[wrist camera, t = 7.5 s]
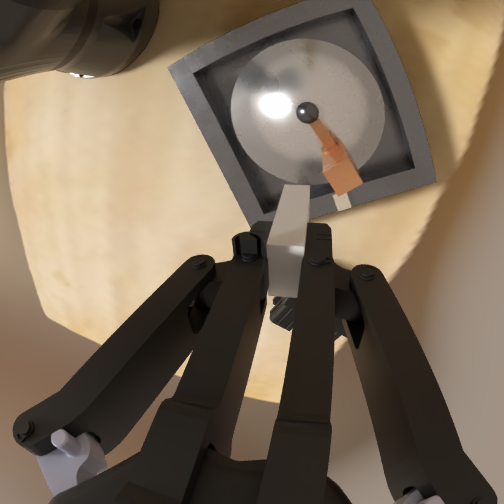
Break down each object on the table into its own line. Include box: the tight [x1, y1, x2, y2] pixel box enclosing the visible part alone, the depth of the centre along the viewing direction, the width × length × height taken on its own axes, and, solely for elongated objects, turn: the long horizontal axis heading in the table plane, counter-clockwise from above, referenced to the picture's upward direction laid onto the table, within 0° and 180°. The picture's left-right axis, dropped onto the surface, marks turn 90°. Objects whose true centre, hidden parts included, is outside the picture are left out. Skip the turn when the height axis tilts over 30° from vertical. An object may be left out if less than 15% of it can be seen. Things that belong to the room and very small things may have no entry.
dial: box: [231, 39, 385, 197], centre depth 22 cm, size 14×14×8 cm
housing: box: [167, 0, 437, 228], centre depth 25 cm, size 20×20×4 cm
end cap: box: [270, 296, 347, 341], centre depth 36 cm, size 10×7×7 cm
